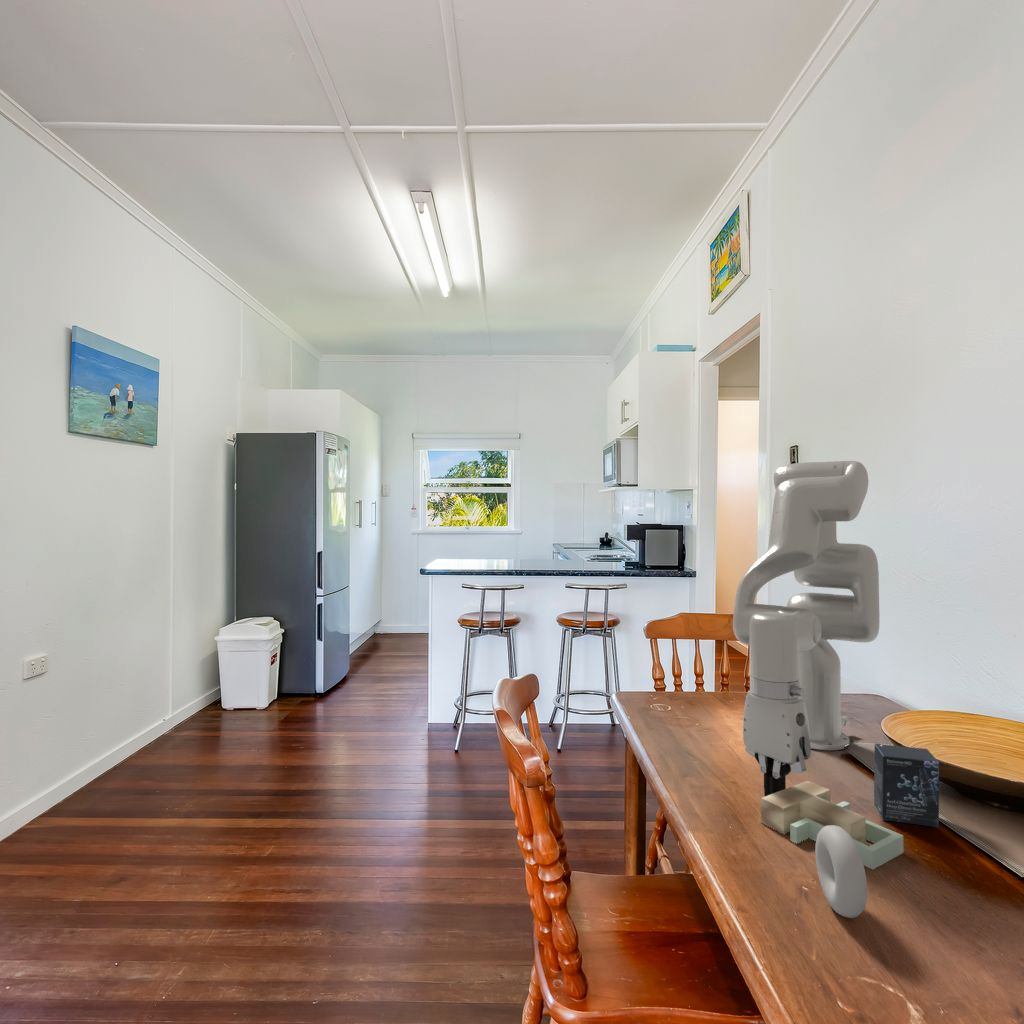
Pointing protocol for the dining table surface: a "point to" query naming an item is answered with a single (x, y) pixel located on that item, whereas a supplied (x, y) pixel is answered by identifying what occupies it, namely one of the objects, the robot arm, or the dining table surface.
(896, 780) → the box
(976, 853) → the dining table surface
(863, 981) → the dining table surface
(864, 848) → the t dock
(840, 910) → the donut
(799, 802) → the t block
